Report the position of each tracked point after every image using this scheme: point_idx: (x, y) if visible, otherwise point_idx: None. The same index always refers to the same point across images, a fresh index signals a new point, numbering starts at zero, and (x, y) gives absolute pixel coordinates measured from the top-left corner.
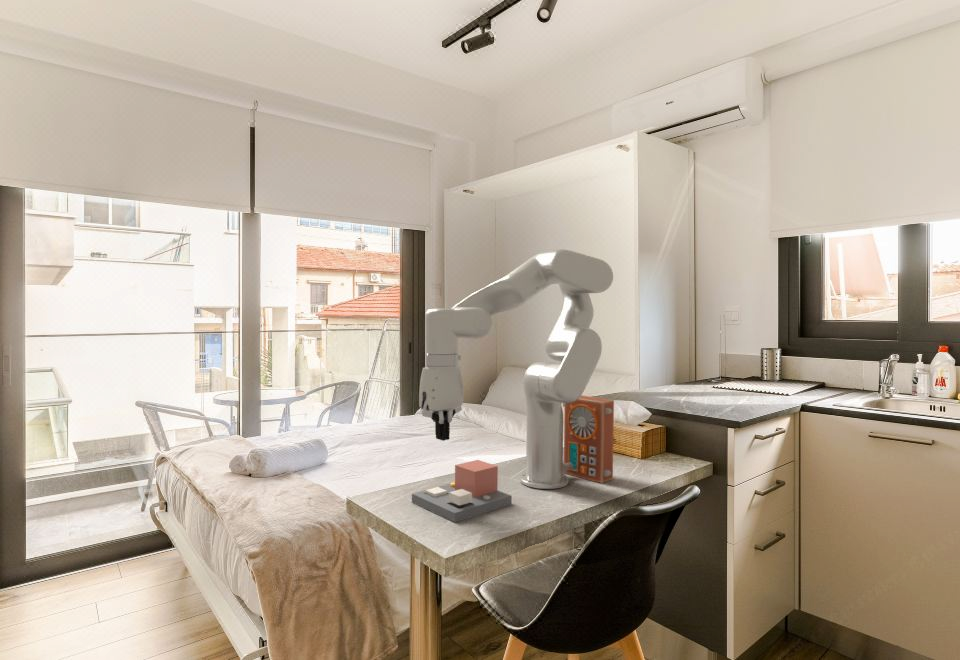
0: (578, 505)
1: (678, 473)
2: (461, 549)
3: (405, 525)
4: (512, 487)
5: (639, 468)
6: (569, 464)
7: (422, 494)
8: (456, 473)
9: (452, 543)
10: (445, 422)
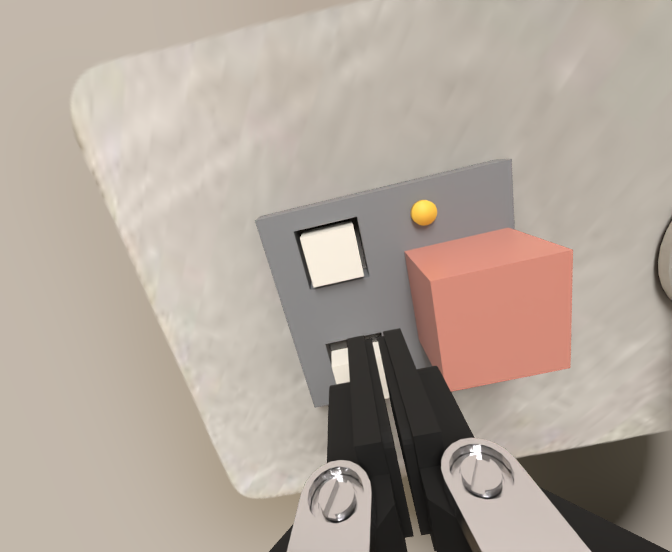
0: (630, 421)
1: None
2: (274, 489)
3: (200, 360)
4: (615, 236)
5: None
6: None
7: (286, 244)
8: (421, 277)
9: (269, 467)
10: (429, 528)
